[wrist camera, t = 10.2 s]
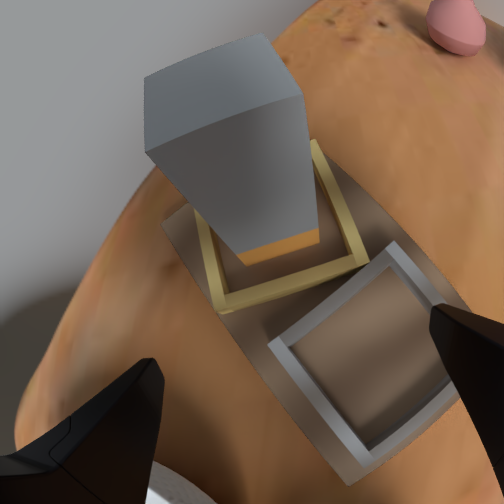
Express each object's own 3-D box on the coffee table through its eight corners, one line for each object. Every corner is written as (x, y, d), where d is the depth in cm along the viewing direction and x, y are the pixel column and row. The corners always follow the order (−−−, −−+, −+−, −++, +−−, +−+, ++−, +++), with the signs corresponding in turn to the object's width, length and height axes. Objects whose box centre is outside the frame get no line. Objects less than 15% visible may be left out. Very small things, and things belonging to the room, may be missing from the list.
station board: (492, 352, 15) (510, 351, 12) (347, 481, 15) (349, 496, 12) (291, 133, 24) (287, 112, 22) (165, 227, 24) (149, 214, 21)
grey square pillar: (319, 242, 19) (302, 93, 8) (246, 266, 20) (145, 152, 8) (298, 187, 21) (262, 32, 9) (232, 210, 22) (144, 77, 10)
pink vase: (480, 75, 22) (502, -7, 11) (420, 51, 24) (428, -36, 13) (477, 47, 23) (492, -24, 12) (425, 27, 26) (431, -47, 15)
